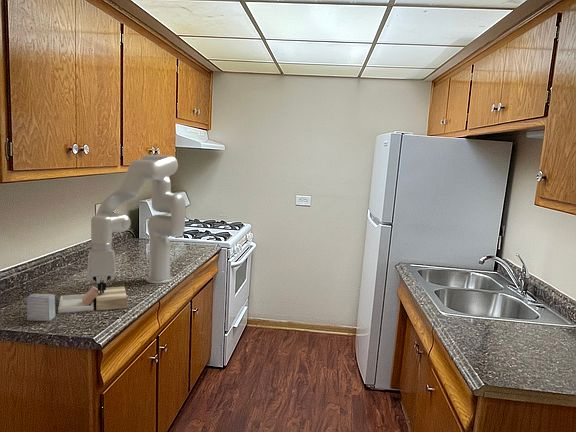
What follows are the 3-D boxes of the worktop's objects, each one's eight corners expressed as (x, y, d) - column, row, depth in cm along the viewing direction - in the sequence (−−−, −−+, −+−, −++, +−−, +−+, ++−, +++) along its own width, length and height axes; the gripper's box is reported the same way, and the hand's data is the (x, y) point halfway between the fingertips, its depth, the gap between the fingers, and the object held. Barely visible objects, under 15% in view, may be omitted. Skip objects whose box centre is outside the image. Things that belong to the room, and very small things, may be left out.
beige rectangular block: (96, 297, 183) (96, 288, 182) (124, 295, 187) (124, 286, 187) (96, 310, 168) (96, 300, 168) (127, 308, 173) (127, 298, 172)
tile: (87, 301, 177) (82, 297, 176) (98, 289, 178) (93, 285, 177) (87, 305, 172) (82, 302, 171) (98, 293, 173) (93, 290, 172)
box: (60, 300, 177) (60, 295, 177) (93, 297, 182) (93, 293, 182) (58, 313, 163) (58, 309, 163) (93, 310, 168) (93, 306, 168)
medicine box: (55, 317, 160) (55, 294, 159) (49, 321, 155) (49, 297, 154) (33, 316, 159) (33, 293, 158) (26, 320, 155) (26, 297, 154)
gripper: (80, 249, 167) (80, 296, 169) (122, 248, 173) (122, 293, 175) (80, 245, 174) (81, 290, 176) (121, 244, 180) (121, 288, 182)
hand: (101, 292), depth 176 cm, fingers closed
